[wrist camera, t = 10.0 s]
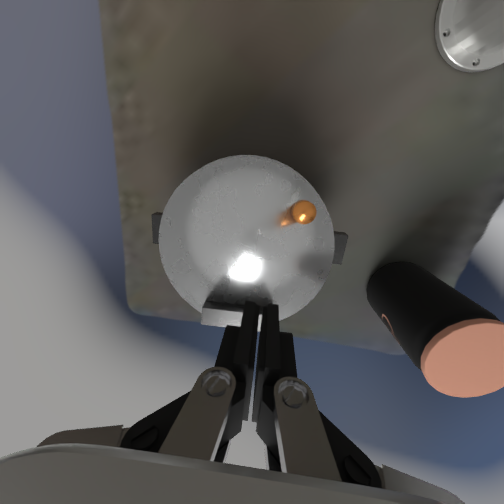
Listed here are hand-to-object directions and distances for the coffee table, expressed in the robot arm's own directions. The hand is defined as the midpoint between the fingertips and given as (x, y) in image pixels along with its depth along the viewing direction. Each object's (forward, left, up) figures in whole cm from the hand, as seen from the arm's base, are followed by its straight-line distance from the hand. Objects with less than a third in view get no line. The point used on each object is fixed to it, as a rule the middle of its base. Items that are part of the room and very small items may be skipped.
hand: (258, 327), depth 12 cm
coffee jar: (+11, +25, -30) cm, 41 cm away
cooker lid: (+2, -2, -18) cm, 18 cm away
